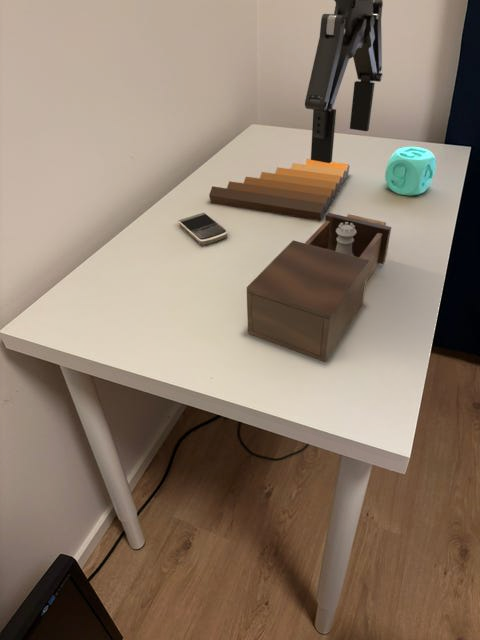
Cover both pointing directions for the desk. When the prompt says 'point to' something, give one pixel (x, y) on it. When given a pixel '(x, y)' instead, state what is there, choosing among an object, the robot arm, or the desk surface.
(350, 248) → the rook chess piece
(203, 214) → the cell phone
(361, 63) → the robot arm
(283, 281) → the cabinet
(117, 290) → the desk surface
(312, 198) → the pan flute
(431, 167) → the decorative dice
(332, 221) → the drawer
